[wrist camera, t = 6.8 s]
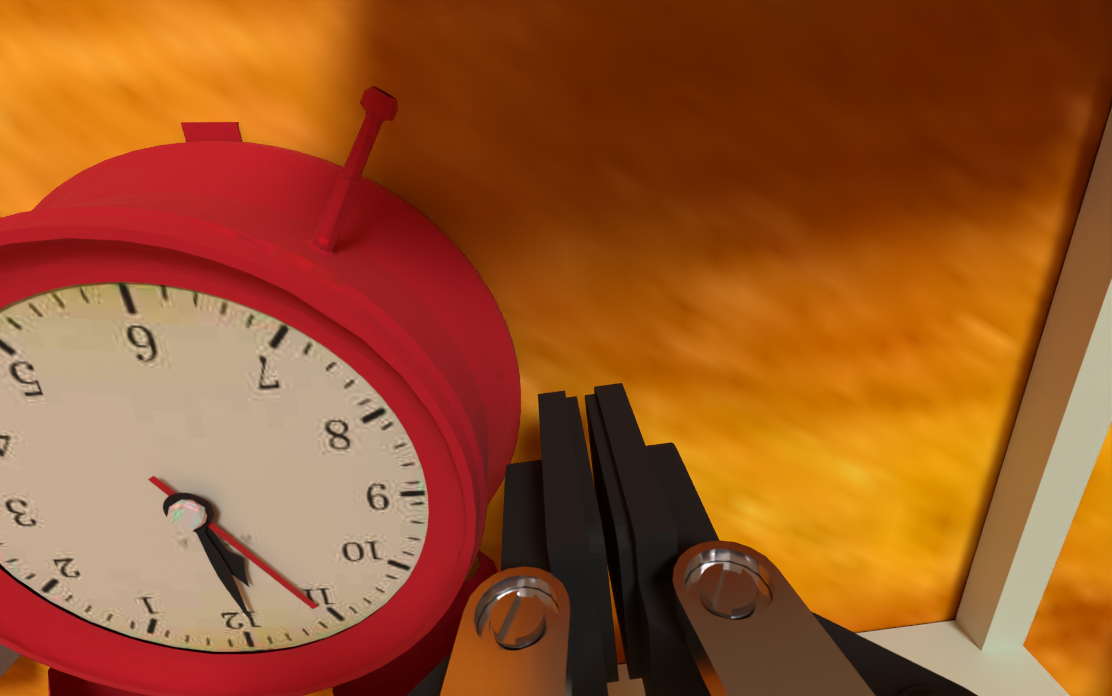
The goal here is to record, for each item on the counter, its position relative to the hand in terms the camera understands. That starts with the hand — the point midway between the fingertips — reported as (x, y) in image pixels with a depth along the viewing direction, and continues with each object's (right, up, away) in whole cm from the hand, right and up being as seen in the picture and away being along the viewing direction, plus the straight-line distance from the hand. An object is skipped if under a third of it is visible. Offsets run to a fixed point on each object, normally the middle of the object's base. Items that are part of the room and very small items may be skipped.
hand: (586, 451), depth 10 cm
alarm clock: (-7, 0, +2) cm, 7 cm away
